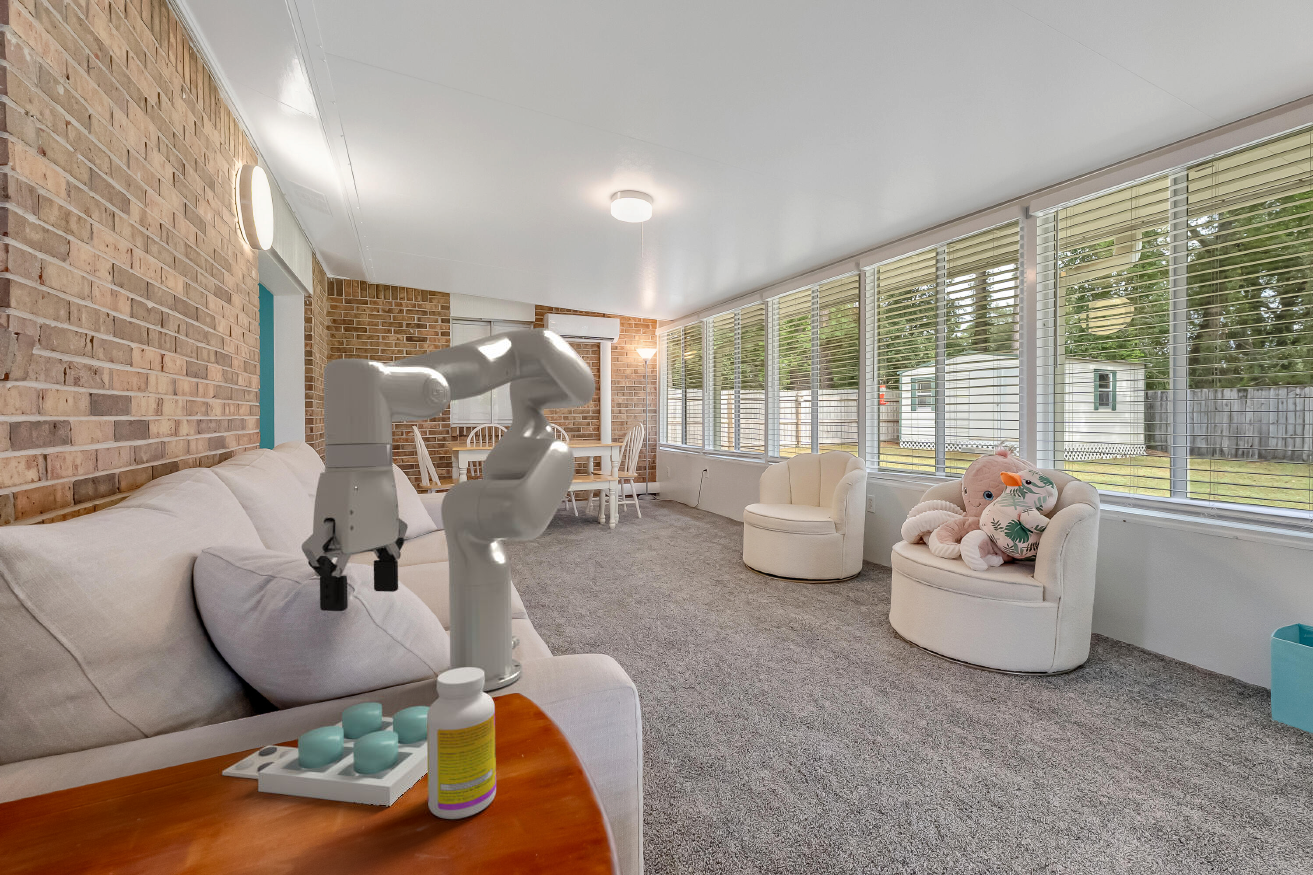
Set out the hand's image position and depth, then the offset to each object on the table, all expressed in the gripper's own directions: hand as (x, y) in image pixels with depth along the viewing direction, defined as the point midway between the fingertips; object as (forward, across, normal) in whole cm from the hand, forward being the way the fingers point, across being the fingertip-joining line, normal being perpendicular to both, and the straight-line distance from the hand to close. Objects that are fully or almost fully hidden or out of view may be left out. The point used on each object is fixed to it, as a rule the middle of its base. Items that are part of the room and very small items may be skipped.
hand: (361, 599), depth 72 cm
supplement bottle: (+18, +8, +18) cm, 27 cm away
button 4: (+16, 0, +7) cm, 17 cm away
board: (+18, +3, +3) cm, 19 cm away
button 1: (+16, +7, 0) cm, 17 cm away
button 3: (+16, +7, +7) cm, 19 cm away
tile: (+18, +5, -9) cm, 21 cm away
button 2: (+16, 0, 0) cm, 16 cm away
